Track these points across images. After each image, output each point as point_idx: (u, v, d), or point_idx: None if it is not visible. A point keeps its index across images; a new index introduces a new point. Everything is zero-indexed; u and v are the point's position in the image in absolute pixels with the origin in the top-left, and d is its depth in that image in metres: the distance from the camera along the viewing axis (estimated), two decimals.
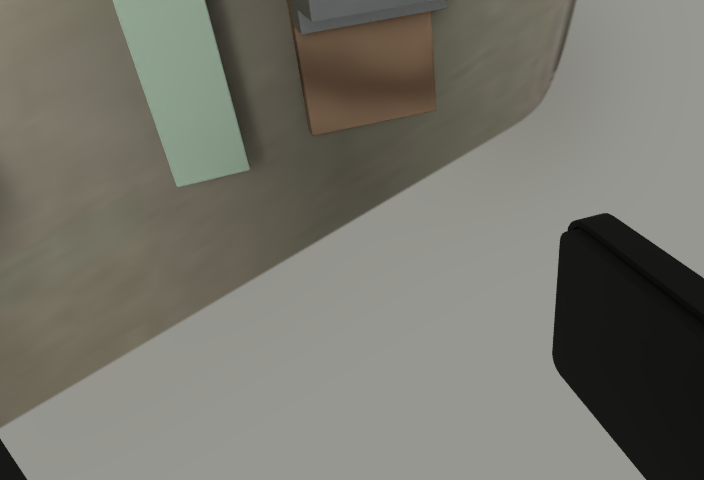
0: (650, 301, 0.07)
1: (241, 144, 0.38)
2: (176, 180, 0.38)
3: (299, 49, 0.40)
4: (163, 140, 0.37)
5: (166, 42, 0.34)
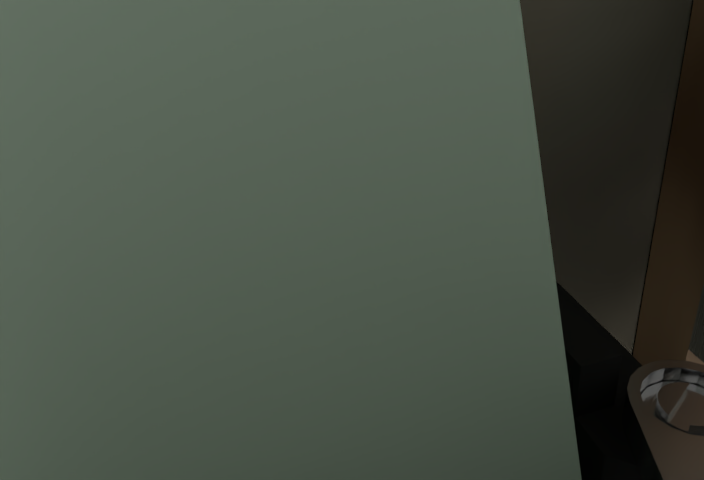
0: None
1: None
2: None
3: None
4: None
5: None
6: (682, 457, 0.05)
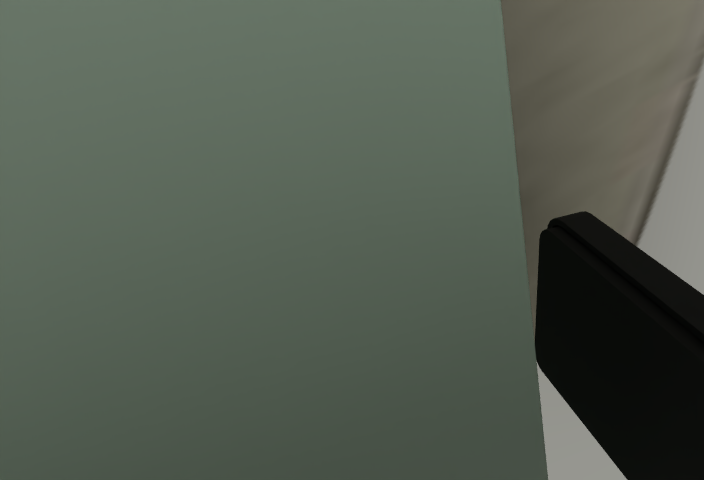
0: (623, 297, 0.07)
1: None
2: None
3: None
4: None
5: None
6: None
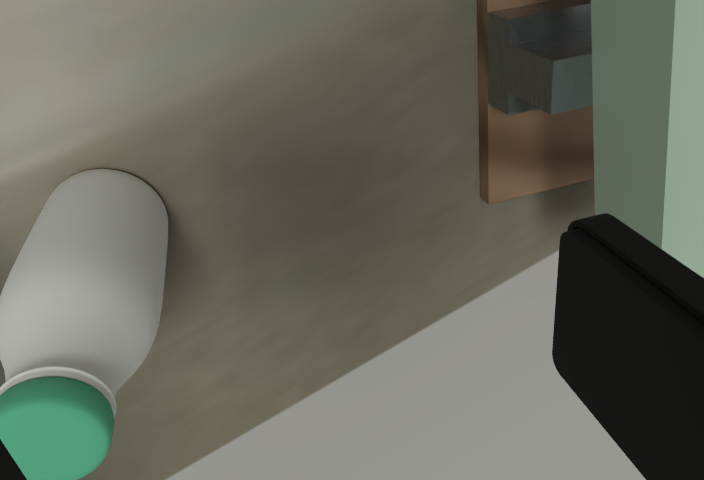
0: (650, 301, 0.07)
1: None
2: None
3: (489, 124, 0.40)
4: (664, 244, 0.31)
5: None
6: None
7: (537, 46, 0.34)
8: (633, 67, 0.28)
